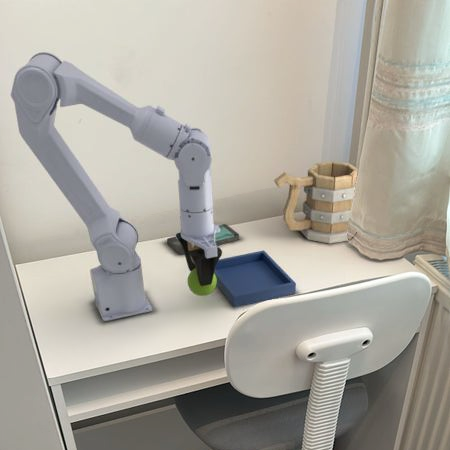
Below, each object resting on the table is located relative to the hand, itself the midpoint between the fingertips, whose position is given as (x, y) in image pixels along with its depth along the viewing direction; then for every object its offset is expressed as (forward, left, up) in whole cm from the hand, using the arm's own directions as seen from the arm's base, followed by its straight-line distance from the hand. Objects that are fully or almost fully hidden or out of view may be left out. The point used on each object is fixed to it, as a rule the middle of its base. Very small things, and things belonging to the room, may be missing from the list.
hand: (200, 277), depth 118 cm
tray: (+12, +4, -6) cm, 14 cm away
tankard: (+34, +19, -6) cm, 39 cm away
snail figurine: (0, 0, -4) cm, 4 cm away
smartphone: (+9, +25, -6) cm, 28 cm away
